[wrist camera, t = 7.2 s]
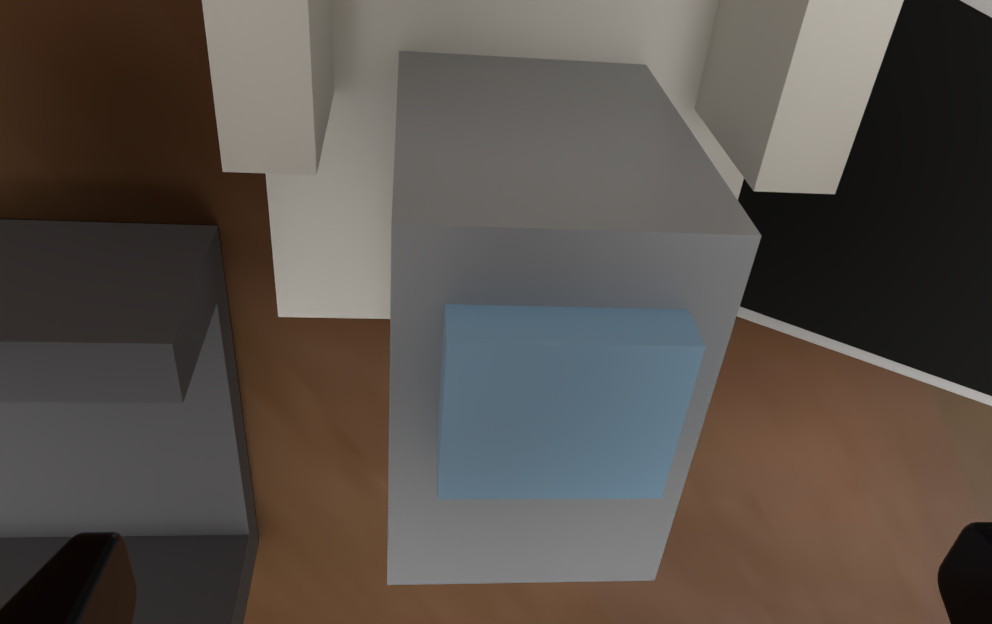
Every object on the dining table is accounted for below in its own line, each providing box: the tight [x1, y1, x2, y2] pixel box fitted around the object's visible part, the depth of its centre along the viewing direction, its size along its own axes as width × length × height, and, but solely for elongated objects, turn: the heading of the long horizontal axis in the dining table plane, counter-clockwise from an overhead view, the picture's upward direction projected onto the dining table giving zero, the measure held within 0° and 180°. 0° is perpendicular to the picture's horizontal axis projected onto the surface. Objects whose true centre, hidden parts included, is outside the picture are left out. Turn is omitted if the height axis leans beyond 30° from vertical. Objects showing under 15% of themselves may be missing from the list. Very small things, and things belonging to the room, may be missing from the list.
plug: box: [387, 51, 761, 585], centre depth 12 cm, size 6×4×6 cm, turn 175°
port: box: [202, 0, 904, 319], centre depth 12 cm, size 10×8×4 cm
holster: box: [0, 219, 259, 624], centre depth 16 cm, size 9×6×4 cm
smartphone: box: [737, 0, 992, 406], centre depth 17 cm, size 7×15×1 cm, turn 65°
